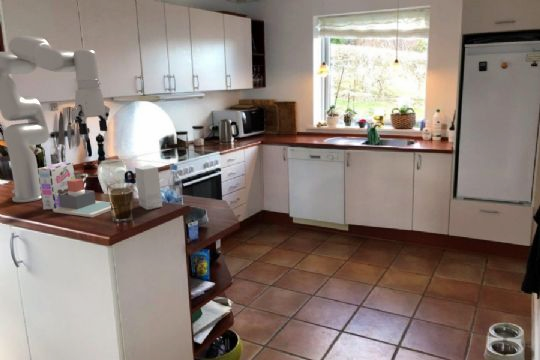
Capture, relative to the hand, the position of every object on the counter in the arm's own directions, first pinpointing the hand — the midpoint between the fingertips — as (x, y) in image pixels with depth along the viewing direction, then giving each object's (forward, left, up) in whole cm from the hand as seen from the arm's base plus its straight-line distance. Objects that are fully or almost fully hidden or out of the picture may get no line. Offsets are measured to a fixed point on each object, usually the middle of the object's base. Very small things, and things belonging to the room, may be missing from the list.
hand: (94, 132), depth 169 cm
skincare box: (+16, +9, -30) cm, 35 cm away
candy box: (-20, -2, -30) cm, 36 cm away
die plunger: (-10, -2, -26) cm, 28 cm away
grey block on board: (-5, -2, -29) cm, 30 cm away
